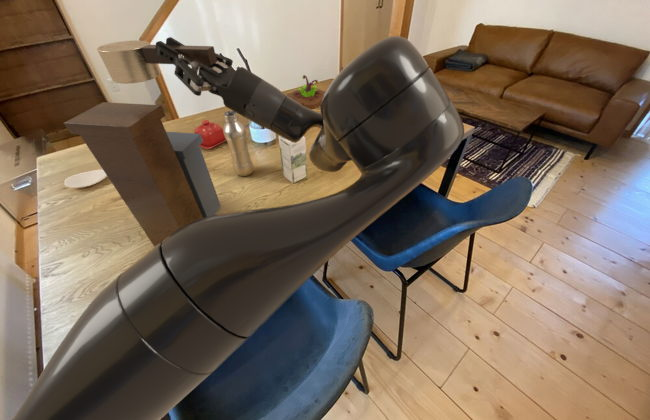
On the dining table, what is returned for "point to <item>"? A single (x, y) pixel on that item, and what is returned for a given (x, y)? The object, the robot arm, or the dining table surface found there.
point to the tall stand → (139, 164)
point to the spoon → (85, 179)
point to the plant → (308, 95)
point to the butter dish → (210, 134)
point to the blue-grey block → (195, 170)
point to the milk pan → (145, 59)
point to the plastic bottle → (237, 144)
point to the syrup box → (293, 159)
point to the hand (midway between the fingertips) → (162, 44)
